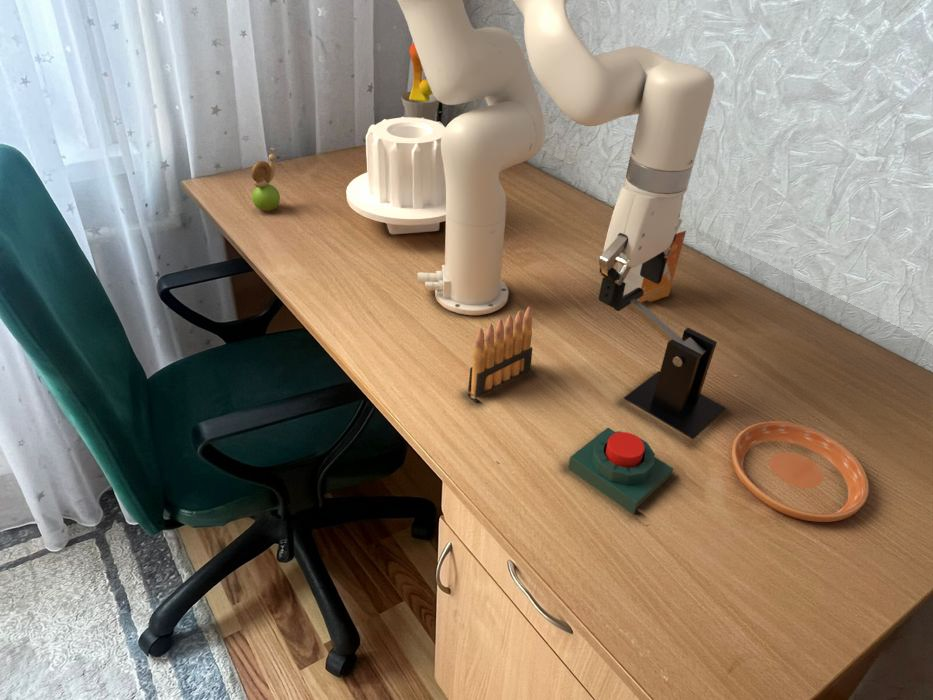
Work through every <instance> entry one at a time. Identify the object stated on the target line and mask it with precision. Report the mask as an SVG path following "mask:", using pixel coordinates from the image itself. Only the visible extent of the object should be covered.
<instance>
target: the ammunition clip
mask: <svg viewBox="0 0 933 700" xmlns="http://www.w3.org/2000/svg"><path fill="white" fill-rule="evenodd" d="M532 323H533V312H532V307H531V306H529V305H528V306H527V308H526V310H525V313H524V316H523V314H522V311H521V310H518V312H517V313H516V316H515V319H514V320H513V316H512V315H511V314H509V315H508V317H507V318H506V321H505V324H504V322H503V319H501V318H500V319H498V321H497V324H496V327H495V328H494V325H493V323H489V325H488V327H487V328H486V331H485V332H486V334H485V333H484V330H483V328H482V327H480V328H479V330H478V331H477V333H476V338H475V345H474V350H473V354H472V355H473V356H472V366H471V367H470V368H469V377H468V388H467V397H468V398H469V399H471V400H472V401H473V402H474V403H479V402H480V400H479V399H478V397H481V396H482V395H484V394H486V393H488V392H491V391H492V390H494V389H496V388H497V387H500V386H501V385H503V384H505V383H508V382H509V381H511V380H514V379H516V378H517V377H519V376H521V375H523V374H525V373H526V372H528V371H530V370H531V368H532V360H533V359H532V358H533V347H532V346H531V345H532V339H533V337H532V336H533V328H532V327H533V324H532ZM504 325H505V326H504ZM473 395H474V396H473Z"/></svg>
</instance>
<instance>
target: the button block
mask: <svg viewBox="0 0 933 700" xmlns="http://www.w3.org/2000/svg"><path fill="white" fill-rule="evenodd" d="M618 432H621V431H619V430H618V431H617V430H615V431H614V430H613V429H611V428H610V427H606V428H605V429H604V430H603V431H601V432H600V433H599V434H597V435H596V436H595V437H594V438H592V439H591V440H589V442H587V443H586V444H585V445H584V446H582V447H581V448H579V450H577V451H576V452H575V453H573V454H572V455H570V457H569V462H568V466H567V469H568V470H569V471H571V472H572V474H575V475H576V476H577V477H579V478H580V479H582V480H583V481H585V482H586V483H587V484H589V485H590V486H592V487H593V488H594V489H596V490H597V491H599V492H601V493H602V494H603V495H605V496H606V497H608V498H609V499H610V500H612V501H613V502H615V503H616V504H618V506H620V507H622V508H624V509H625V510H626V511H628V512H629V513H631V514H632V515H635V514H636V513H637V512H639V510H638V509H637V508H638V507H639V506H641V505H642V503H644V502H645V501H646V500H647V499H649V498H650V496H651V495H653V494H654V493H655V491H656V490H657V489H659V488H660V487H661V486H662V485H663V484H664V483H665V482H666V481H668V479H669V478H670V477H672V475H673V472H674V468H673V467H672V466H670V465H669V464H668V463H666V462H664V461H662V460H660V459H659V458H657V457H655V456H656V453H655V452H654V451H653V448H651V447H652V446H650V444H649V443H648V441H646V440H644V439H642V438H641V437H639V436H637V435H636V434H633V433H632V434H633V435H635V436H637V437H638V438H639V439H641V441H642V442H643V444H644V453H643V456H642V460H641V462H640V463H639V464H638V465H637V466H635V467H631V468H626V467H621V466H617V465H615V464H614V463H612V462H611V461H610V460H609V459H608V458H607V456H606V448H607V443H608V439H609V437H610V436H611V435H613V434H615V433H618Z"/></svg>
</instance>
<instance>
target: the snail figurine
mask: <svg viewBox="0 0 933 700" xmlns="http://www.w3.org/2000/svg"><path fill="white" fill-rule="evenodd" d="M269 150H270V151H271V152H273V153H270V154H269V155H268V161H269V162H267V161H264V160H258V161H257V162H255V163H254V164H253V165H252V168H251V178H252V179H253V181H254V183H253V185H254V186H255V187H254V189H253V191H252V195H251V199H252V202H253V204H254V206H255V207H256V208H257V209H259V210H261V211H264V212H270V211H273V210H275V209H276V208H278V206H279V204H280V201H281V195H280V192H279V190H278V189H277V188H276V187H275V186H274V185H272V184H270V183H271V182H272V181H273V179H274V177H275V172H276V155H275V151H276V148H274V147H269Z"/></svg>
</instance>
